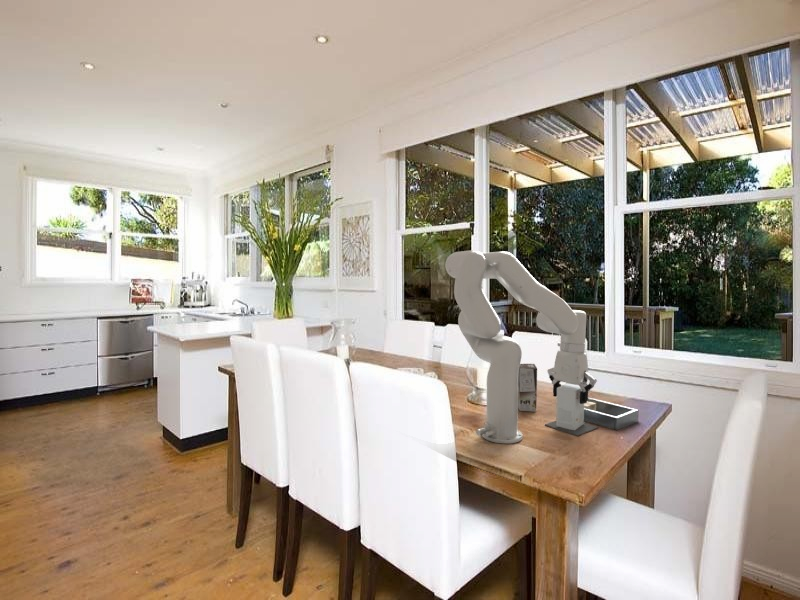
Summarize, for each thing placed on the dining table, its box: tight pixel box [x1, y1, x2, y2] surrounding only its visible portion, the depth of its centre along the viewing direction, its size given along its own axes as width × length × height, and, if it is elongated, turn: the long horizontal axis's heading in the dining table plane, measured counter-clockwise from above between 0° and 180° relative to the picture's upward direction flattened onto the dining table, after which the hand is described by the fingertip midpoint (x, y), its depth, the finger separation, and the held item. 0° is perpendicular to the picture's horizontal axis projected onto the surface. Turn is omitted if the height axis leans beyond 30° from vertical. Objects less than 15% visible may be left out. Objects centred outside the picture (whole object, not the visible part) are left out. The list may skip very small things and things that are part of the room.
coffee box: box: [518, 363, 538, 413], centre depth 167 cm, size 9×6×16 cm
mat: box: [544, 420, 600, 437], centre depth 146 cm, size 12×12×1 cm
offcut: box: [584, 402, 596, 411], centre depth 159 cm, size 6×2×4 cm, turn 126°
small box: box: [555, 383, 585, 430], centre depth 146 cm, size 8×6×13 cm
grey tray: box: [584, 397, 640, 431], centre depth 155 cm, size 14×18×4 cm
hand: (569, 399), depth 146 cm, fingers open, 9 cm apart
